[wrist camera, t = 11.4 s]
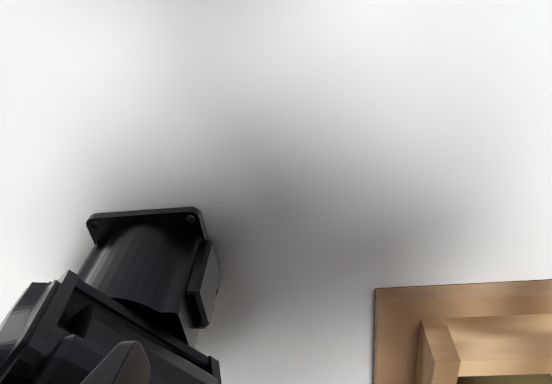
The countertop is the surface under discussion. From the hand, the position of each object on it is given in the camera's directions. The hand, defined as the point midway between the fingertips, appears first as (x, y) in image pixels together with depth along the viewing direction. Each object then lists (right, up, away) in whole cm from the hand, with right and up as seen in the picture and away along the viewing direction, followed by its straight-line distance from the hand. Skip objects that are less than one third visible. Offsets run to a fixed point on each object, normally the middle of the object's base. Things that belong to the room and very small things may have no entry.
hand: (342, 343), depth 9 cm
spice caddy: (+14, -8, +20) cm, 26 cm away
